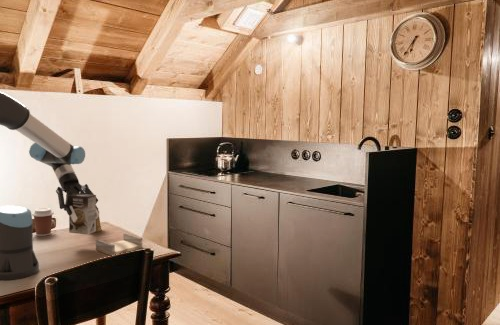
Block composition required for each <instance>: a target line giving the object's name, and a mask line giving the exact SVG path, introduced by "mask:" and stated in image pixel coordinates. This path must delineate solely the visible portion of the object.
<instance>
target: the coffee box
mask: <svg viewBox="0 0 500 325" xmlns="http://www.w3.org/2000/svg"><path fill="white" fill-rule="evenodd" d="M96 198H97V194H94V195H90V194H79V193H78V194H72V195H69V201H70V206H72V207H73V210H74V212H75V214H76V216H77V218H78V219H77V220H76V222H73V220H72V218H71V216H70V215H68V225H69V226H68V228H69V230H68V231H69V233H71V234H79V235H89V234H94V233H93V232H95V231H96V206H97V203H96ZM70 206H69V207H70ZM95 233H96V232H95Z"/></svg>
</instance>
